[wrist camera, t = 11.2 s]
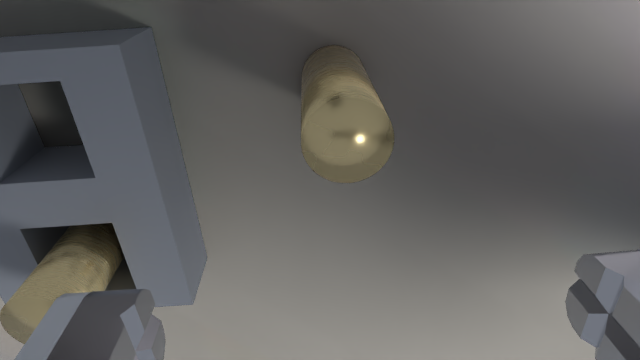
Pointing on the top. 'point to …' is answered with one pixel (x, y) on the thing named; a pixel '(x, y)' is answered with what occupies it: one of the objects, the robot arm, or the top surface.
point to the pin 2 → (342, 118)
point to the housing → (97, 162)
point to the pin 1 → (63, 275)
